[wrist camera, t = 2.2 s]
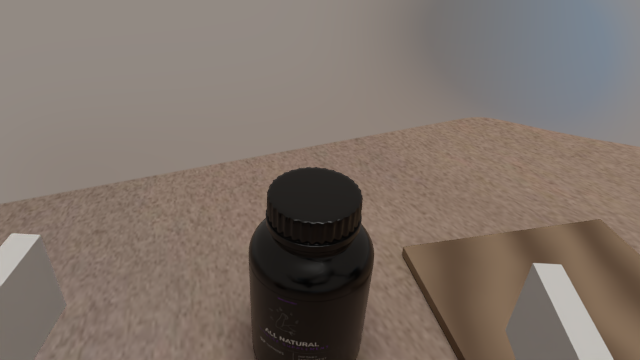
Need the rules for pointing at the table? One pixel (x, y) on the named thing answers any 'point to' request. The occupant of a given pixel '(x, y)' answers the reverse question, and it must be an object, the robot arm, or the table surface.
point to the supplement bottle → (310, 268)
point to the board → (510, 275)
